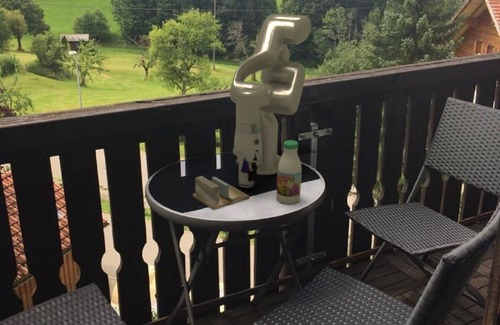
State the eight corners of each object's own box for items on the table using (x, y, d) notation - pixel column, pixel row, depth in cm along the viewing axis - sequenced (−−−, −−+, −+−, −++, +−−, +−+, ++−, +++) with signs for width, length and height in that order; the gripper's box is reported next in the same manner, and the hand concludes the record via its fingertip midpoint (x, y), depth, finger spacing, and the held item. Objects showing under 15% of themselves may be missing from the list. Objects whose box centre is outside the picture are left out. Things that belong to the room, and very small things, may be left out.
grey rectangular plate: (214, 189, 182) (214, 176, 180) (233, 200, 174) (233, 187, 173) (211, 190, 181) (211, 177, 179) (230, 201, 174) (230, 188, 172)
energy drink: (252, 188, 182) (253, 155, 178) (237, 187, 183) (237, 154, 178) (255, 182, 187) (256, 149, 182) (240, 180, 188) (240, 148, 183)
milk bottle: (277, 193, 183) (280, 137, 176) (300, 195, 182) (304, 139, 174) (274, 203, 176) (277, 145, 169) (298, 205, 175) (302, 147, 167)
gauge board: (227, 186, 188) (227, 167, 185) (248, 198, 179) (249, 179, 176) (193, 196, 180) (192, 176, 177) (213, 209, 171) (213, 189, 168)
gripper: (273, 131, 173) (271, 183, 180) (241, 117, 185) (240, 166, 192) (254, 136, 169) (253, 189, 176) (222, 121, 181) (223, 171, 188)
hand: (246, 176), depth 184 cm, fingers closed on energy drink, 5 cm apart
